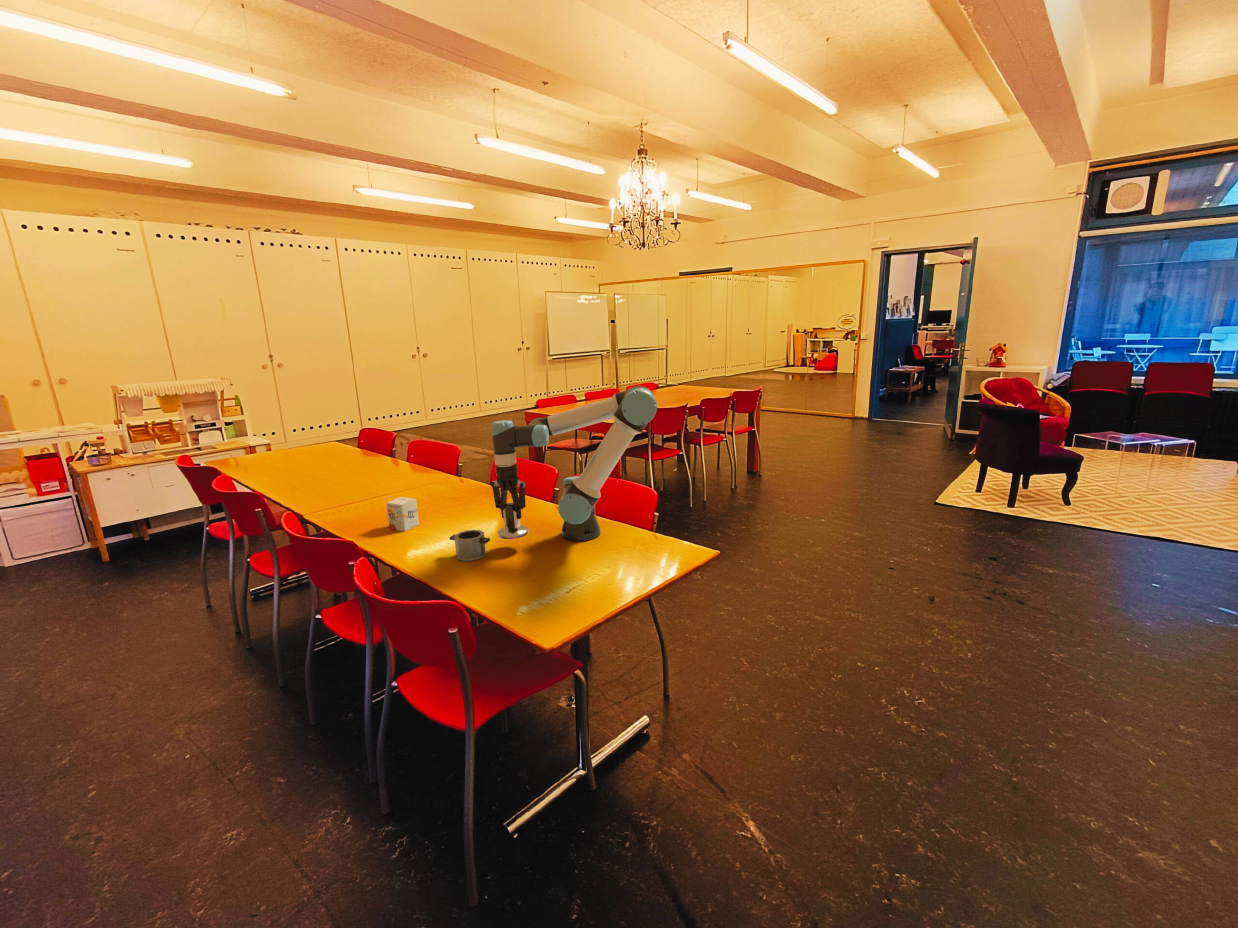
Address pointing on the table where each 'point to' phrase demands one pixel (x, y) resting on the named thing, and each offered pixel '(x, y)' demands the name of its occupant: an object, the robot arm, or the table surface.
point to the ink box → (402, 514)
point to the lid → (512, 525)
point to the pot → (470, 545)
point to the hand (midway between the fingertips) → (512, 526)
